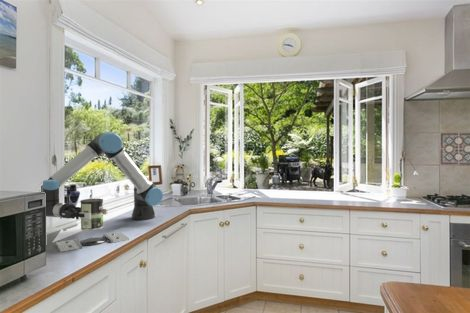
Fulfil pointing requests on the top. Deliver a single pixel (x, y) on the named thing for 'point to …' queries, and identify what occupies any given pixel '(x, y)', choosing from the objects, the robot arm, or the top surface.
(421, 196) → the top surface
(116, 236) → the hinge leaves
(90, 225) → the coffee can
